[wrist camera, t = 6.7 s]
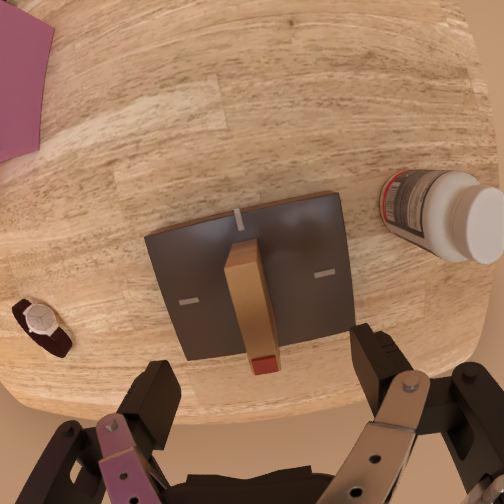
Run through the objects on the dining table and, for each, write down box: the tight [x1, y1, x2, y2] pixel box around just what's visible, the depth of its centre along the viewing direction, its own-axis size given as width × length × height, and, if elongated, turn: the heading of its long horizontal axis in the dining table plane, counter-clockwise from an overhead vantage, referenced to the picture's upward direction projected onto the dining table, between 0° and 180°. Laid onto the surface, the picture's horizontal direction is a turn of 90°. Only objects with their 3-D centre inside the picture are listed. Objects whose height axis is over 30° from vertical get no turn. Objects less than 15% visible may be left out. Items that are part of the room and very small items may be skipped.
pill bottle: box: [380, 170, 504, 265], centre depth 15 cm, size 5×5×10 cm
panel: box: [144, 191, 356, 361], centre depth 20 cm, size 13×11×3 cm
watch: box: [12, 299, 72, 358], centre depth 22 cm, size 8×5×4 cm, turn 58°
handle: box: [224, 239, 281, 375], centre depth 16 cm, size 6×2×5 cm, turn 13°
